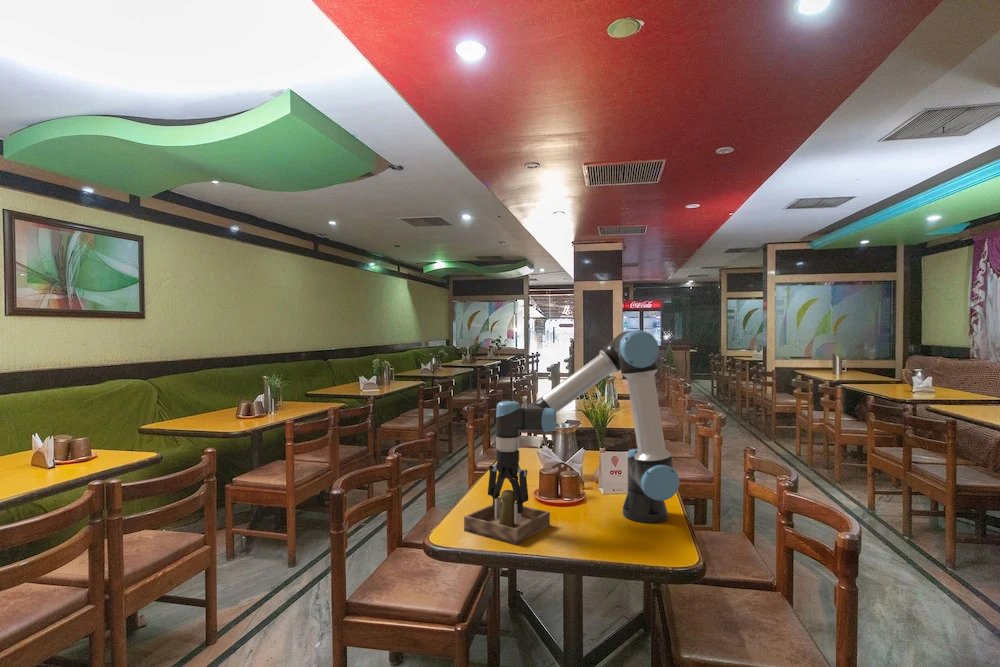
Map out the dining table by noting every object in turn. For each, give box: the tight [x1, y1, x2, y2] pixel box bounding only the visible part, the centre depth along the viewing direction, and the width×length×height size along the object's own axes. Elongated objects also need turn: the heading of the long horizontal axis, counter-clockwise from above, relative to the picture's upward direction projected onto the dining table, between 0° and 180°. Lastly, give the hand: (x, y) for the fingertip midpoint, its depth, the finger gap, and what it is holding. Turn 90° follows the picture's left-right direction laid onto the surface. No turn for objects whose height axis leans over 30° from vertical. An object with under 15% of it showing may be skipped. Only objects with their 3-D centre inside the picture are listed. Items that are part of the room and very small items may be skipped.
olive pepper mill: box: [499, 489, 517, 528], centre depth 166 cm, size 6×6×11 cm
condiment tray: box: [463, 500, 551, 546], centre depth 166 cm, size 20×20×4 cm
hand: (507, 520), depth 166 cm, fingers open, 7 cm apart
